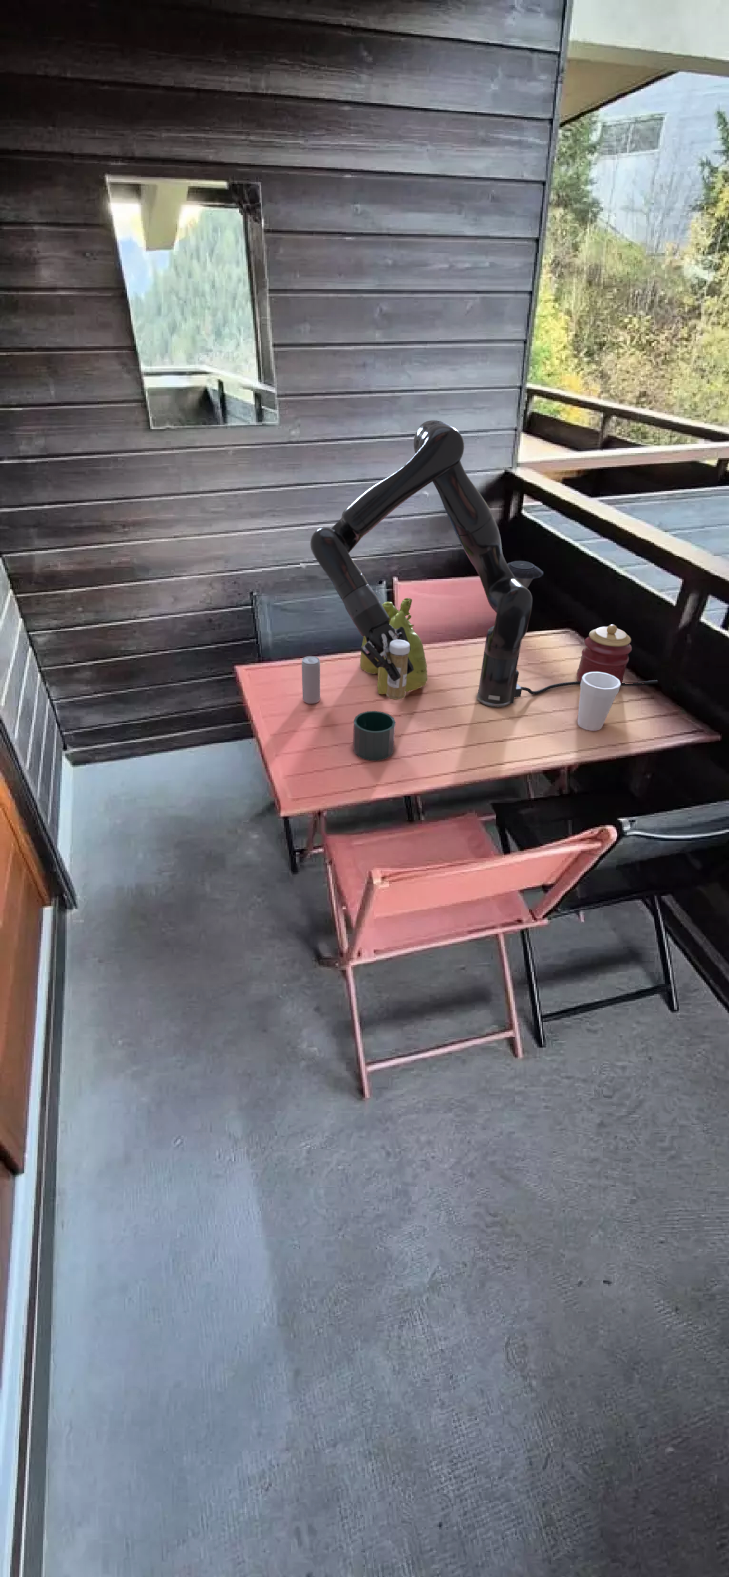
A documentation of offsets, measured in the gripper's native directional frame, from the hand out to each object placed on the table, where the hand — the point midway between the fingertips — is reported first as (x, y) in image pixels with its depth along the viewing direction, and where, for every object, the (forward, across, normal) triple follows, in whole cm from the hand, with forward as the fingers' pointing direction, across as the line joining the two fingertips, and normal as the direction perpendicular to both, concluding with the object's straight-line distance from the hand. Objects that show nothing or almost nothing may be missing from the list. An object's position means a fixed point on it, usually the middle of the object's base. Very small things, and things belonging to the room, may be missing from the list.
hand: (404, 675), depth 160 cm
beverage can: (-8, +3, +37) cm, 38 cm away
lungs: (-2, +29, +31) cm, 43 cm away
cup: (+11, -4, +17) cm, 21 cm away
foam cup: (+36, +44, -8) cm, 57 cm away
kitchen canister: (+29, +68, -2) cm, 74 cm away
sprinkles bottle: (+3, 0, +6) cm, 7 cm away
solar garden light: (+11, +60, +17) cm, 63 cm away
